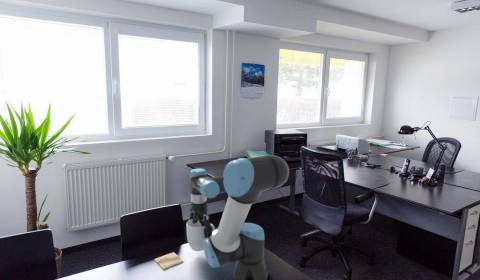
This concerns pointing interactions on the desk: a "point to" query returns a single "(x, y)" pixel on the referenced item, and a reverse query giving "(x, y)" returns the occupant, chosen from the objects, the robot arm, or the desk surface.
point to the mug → (196, 235)
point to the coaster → (168, 260)
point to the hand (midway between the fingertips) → (200, 244)
